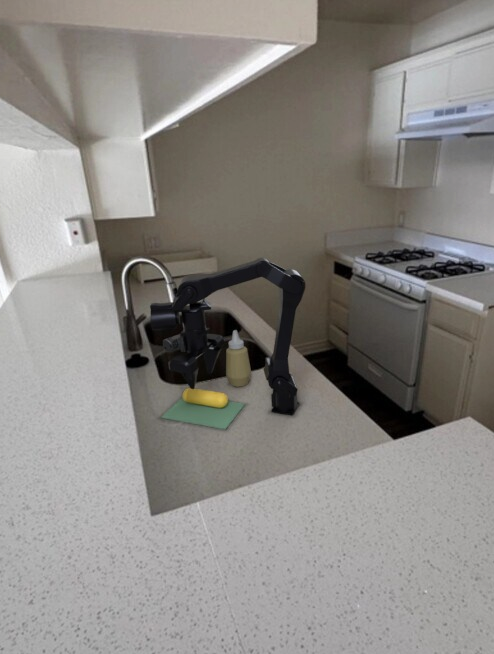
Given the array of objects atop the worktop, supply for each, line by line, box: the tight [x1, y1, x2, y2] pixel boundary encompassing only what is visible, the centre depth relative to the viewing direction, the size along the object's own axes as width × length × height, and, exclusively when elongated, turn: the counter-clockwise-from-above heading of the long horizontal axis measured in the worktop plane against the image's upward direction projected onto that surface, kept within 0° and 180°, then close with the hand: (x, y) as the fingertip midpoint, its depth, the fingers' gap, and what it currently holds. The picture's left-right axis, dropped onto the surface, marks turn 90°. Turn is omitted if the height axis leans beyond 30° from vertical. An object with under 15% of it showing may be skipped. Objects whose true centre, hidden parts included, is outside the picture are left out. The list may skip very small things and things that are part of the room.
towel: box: [161, 396, 246, 431], centre depth 120 cm, size 20×13×1 cm, turn 70°
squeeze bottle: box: [225, 329, 252, 388], centre depth 131 cm, size 8×8×18 cm
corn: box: [182, 387, 229, 408], centre depth 122 cm, size 14×4×4 cm, turn 70°
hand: (201, 380), depth 112 cm, fingers open, 9 cm apart
